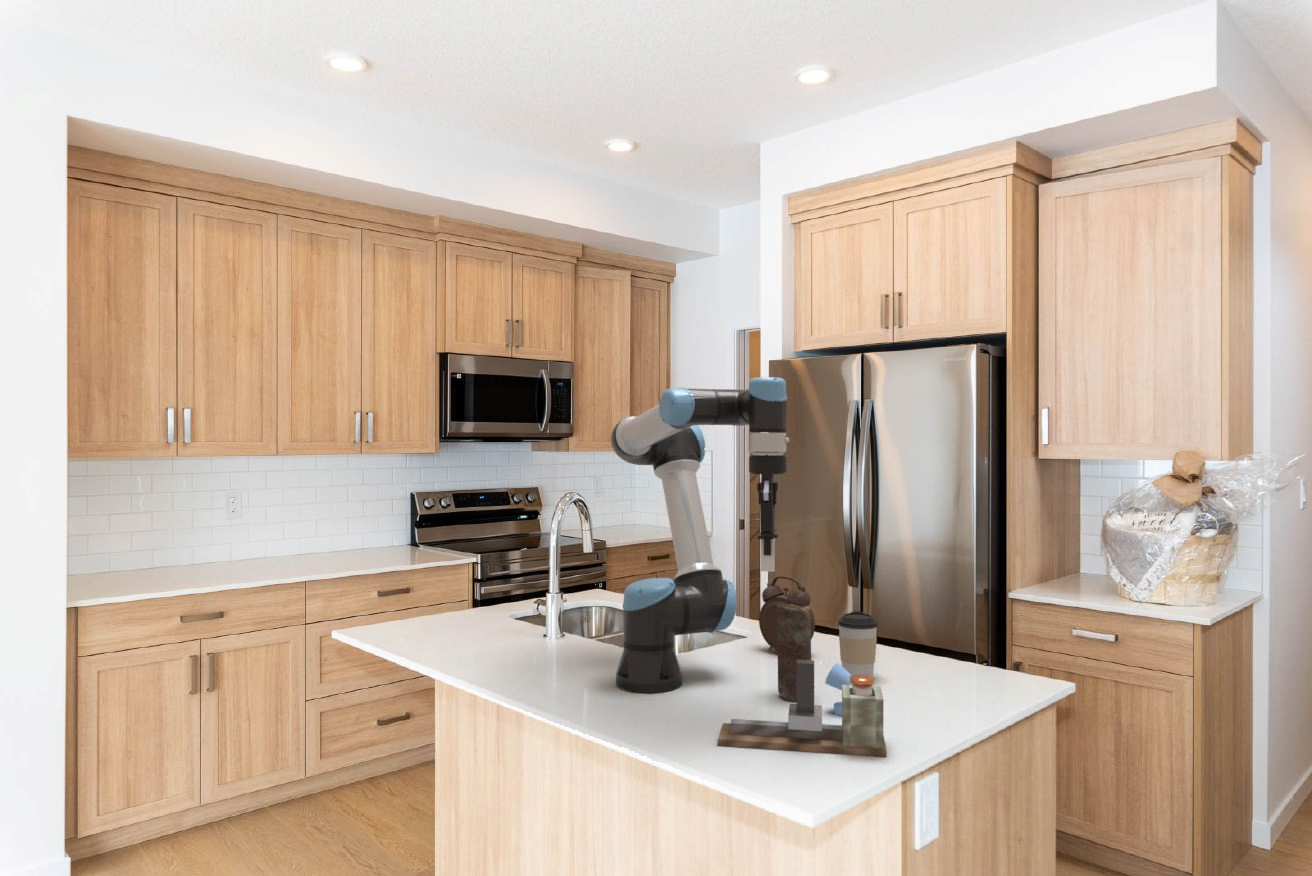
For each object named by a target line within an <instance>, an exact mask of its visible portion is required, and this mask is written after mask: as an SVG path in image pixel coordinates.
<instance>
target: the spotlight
mask: <svg viewBox="0 0 1312 876" xmlns="http://www.w3.org/2000/svg"><path fill="white" fill-rule="evenodd" d="M850 676H852V675H851V674H850V673H849V672H847V671H846V670H845V669H844V668H843V667H842V664H840V663H839V662H836V663H835V664H833V666H832V667H831V669H830V670H829V672H828V674H827V676H826V679H825V681H824V683H825V684H826V685H827V686H830V687H833V688H835V689H837V690H839V691H842V685H852V683H850ZM833 714H835V715H836V716H840V717H842V701H836V702H834V703H833Z"/></svg>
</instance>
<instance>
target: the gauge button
mask: <svg viewBox="0 0 1312 876" xmlns="http://www.w3.org/2000/svg"><path fill="white" fill-rule="evenodd" d="M850 683H852V695H866V696H872V686H874V685H875V677H874V676H873V677H872V676H869V675H852V676H850Z"/></svg>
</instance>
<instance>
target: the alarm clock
mask: <svg viewBox="0 0 1312 876" xmlns="http://www.w3.org/2000/svg"><path fill="white" fill-rule="evenodd" d="M779 579H784V580H790V581H792V582H794V583H795V584H796V586H797V587H794V588H792V589H791V590H790V589H789V588H787V587H783V588H782V587H780V586H779V585H777V584H776V583H777V581H778V580H779ZM775 584H776V585H775ZM788 592H789V593H788ZM787 593H788V594H787ZM761 597H762V601H763V602H762V603H763V604H762V606H761V608H760V611H759V614H758V615H759V616H758V622H759V623H758V625H759V630H760V633H761V636H762V637H763V640H764V641H765V642H766V644H767V645H768V646H769V647H768V651H769V652H770V651H771V650H772V649H773V650H775V651H777V652H778V629H777V605H780V604H782V605H790V604H792V605H796V606H800V607H806V606H809V607H810V603H811V598H812V597H811V595H810V593H809V592H808V591H807V590H806V587H805V586H803V587H802V584H801V583H800V581H799V579H796V578H794V577H793V576H787V575H779V576H776V577H774V578H773V580H772V582H771V583H770V582H767V583H766V587H765V588H764V589H763V590H762V594H761ZM810 622H811V640H812V639H813V638H814V634H815V629H816V619H815V616H814V613H813V611H812V609H811V607H810Z"/></svg>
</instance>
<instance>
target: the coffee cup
mask: <svg viewBox="0 0 1312 876" xmlns="http://www.w3.org/2000/svg"><path fill="white" fill-rule="evenodd" d="M837 622H838V623H837V625H838V630H839V633H838V638H839V639H838V641H839V652H840V661H841V662H840V663H841V666H842V667H843V668H844V669H845V670H846V671H847V672H849V673H850V674H851V675H869V676H872V677H874V669H875V662H876V653H877V652H876V651H877V638H878V637H877V629H878V620H876V619H875V618H874V617H873V615H872V614H867V613H865V612H863V611H860V610H859V611H857V610H854V611H853V610H852V611H851V612H849V613H844V614H842V616H841V617H840V618H838V621H837Z"/></svg>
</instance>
